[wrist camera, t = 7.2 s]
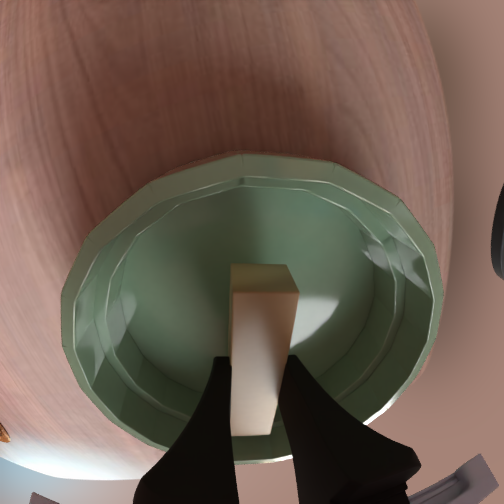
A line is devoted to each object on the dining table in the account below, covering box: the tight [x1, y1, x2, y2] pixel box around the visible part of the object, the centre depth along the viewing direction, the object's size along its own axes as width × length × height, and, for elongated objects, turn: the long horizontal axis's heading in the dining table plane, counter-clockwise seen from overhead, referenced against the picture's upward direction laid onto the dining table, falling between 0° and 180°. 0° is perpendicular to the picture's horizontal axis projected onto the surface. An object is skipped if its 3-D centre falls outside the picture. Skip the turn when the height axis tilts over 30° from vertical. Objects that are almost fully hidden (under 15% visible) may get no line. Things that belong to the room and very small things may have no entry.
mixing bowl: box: [61, 150, 444, 465], centre depth 12 cm, size 15×15×5 cm
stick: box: [228, 263, 300, 436], centre depth 12 cm, size 2×9×2 cm, turn 176°
